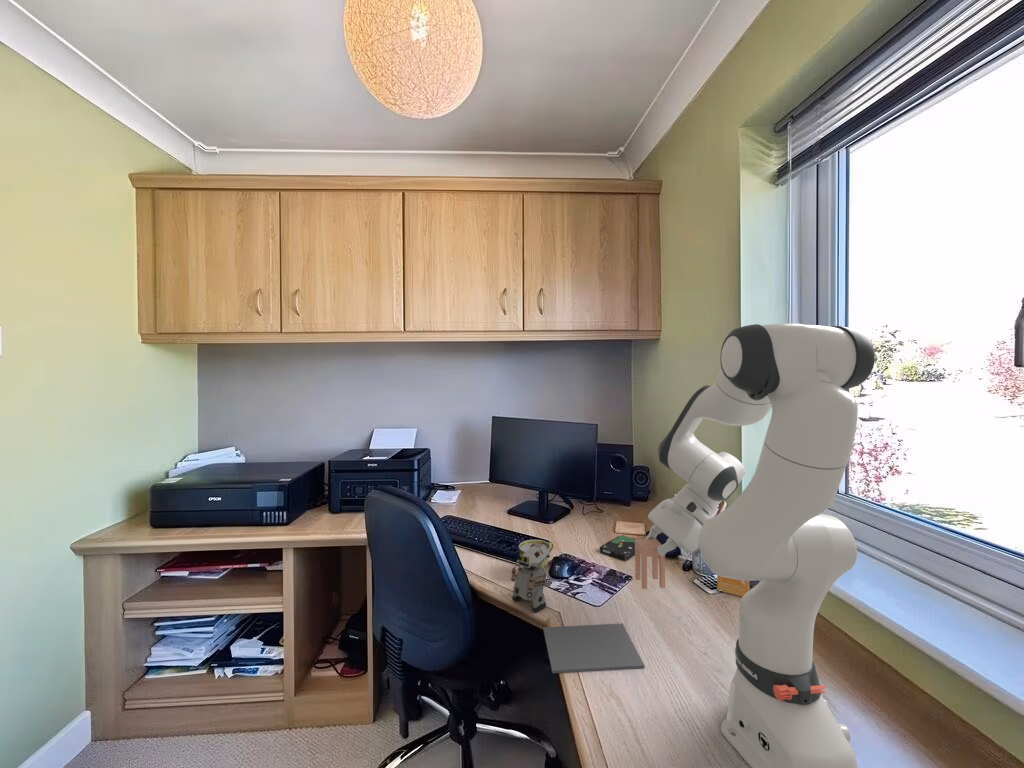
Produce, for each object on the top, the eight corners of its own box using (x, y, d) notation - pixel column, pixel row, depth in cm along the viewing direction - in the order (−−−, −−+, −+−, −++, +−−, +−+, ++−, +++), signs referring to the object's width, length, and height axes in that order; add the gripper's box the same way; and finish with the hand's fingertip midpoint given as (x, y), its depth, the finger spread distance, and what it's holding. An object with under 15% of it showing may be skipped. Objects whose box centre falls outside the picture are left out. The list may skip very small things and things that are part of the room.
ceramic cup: (534, 589, 124) (533, 556, 124) (512, 577, 132) (511, 545, 131) (564, 575, 132) (564, 543, 132) (542, 564, 140) (542, 534, 140)
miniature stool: (665, 588, 103) (664, 547, 103) (643, 589, 103) (642, 548, 103) (656, 577, 109) (655, 538, 108) (635, 578, 108) (634, 539, 108)
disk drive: (626, 563, 141) (646, 548, 151) (626, 555, 141) (646, 541, 151) (599, 554, 148) (620, 540, 159) (599, 546, 148) (620, 533, 158)
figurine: (559, 599, 119) (559, 547, 118) (531, 616, 111) (530, 560, 110) (536, 587, 125) (535, 537, 125) (507, 602, 117) (506, 549, 117)
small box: (717, 591, 121) (717, 547, 121) (718, 581, 127) (718, 538, 126) (749, 598, 117) (749, 552, 117) (749, 588, 123) (749, 544, 122)
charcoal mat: (644, 668, 91) (644, 665, 91) (552, 673, 90) (552, 670, 90) (622, 625, 106) (622, 623, 106) (543, 629, 105) (543, 627, 105)
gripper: (664, 487, 116) (630, 524, 116) (702, 511, 96) (660, 556, 95) (680, 503, 116) (646, 539, 116) (721, 530, 96) (679, 575, 96)
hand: (652, 547), depth 106 cm, fingers closed on miniature stool, 5 cm apart
